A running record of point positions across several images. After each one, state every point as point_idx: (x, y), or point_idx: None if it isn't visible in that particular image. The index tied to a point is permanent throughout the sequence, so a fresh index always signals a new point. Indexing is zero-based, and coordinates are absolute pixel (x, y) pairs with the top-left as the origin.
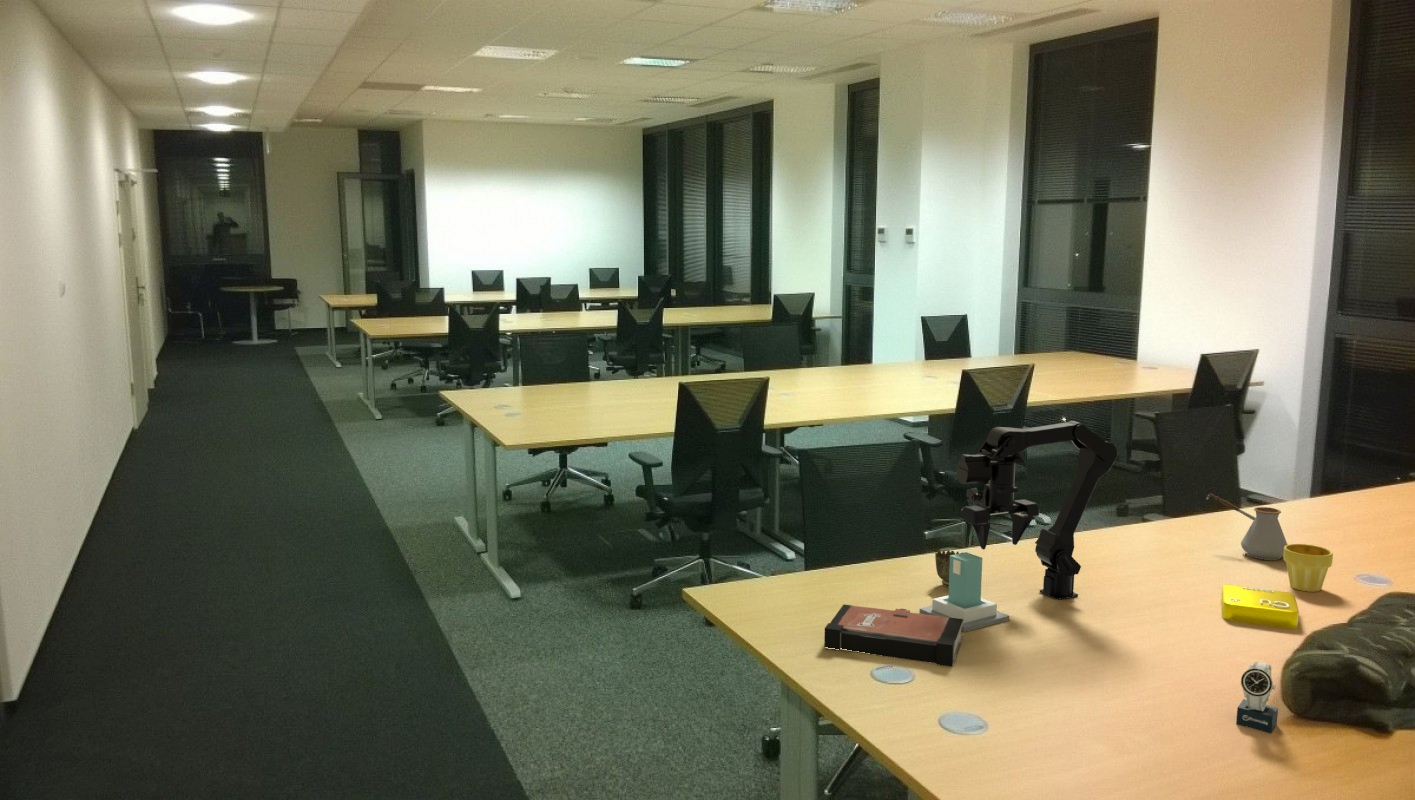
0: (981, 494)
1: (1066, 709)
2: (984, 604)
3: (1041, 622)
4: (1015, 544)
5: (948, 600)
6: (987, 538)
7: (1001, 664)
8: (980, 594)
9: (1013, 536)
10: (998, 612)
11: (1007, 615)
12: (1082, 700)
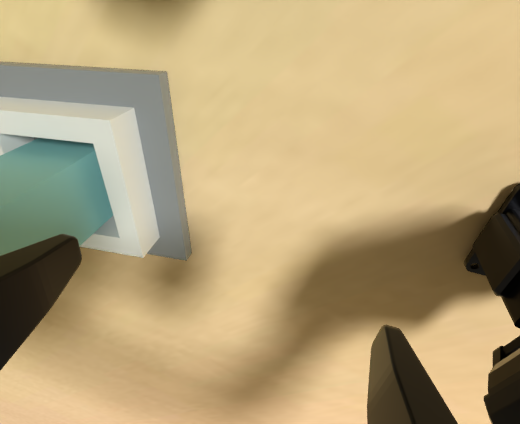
0: None
1: (65, 406)
2: (106, 239)
3: (251, 302)
4: (371, 350)
5: (14, 149)
6: (2, 363)
7: (50, 330)
8: (82, 241)
9: (391, 395)
10: (175, 231)
11: (182, 256)
12: (94, 412)
